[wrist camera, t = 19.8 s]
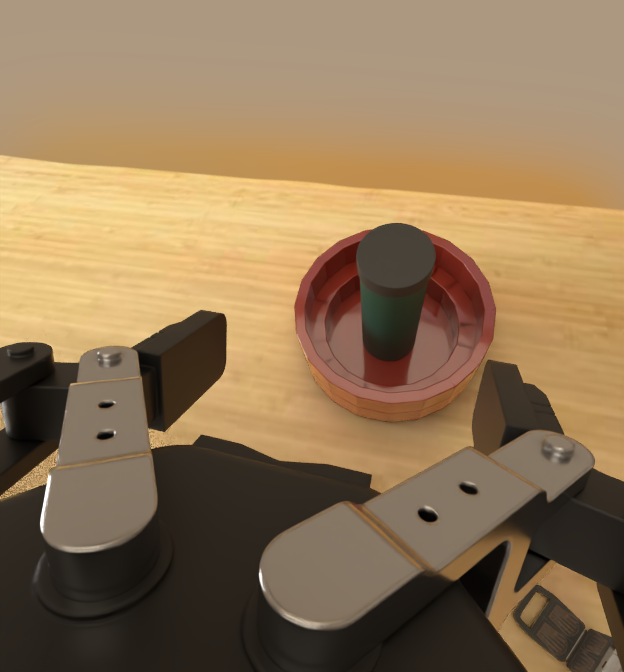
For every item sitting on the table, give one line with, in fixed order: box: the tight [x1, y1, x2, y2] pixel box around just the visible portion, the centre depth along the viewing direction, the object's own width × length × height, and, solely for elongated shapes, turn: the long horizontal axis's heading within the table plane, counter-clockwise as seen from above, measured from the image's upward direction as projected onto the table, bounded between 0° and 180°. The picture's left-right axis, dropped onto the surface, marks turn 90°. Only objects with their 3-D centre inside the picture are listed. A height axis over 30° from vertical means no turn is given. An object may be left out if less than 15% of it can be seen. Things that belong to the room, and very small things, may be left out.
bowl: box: [294, 230, 496, 422], centre depth 36 cm, size 15×15×6 cm
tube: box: [356, 223, 436, 361], centre depth 32 cm, size 5×5×12 cm
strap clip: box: [514, 585, 623, 672], centre depth 26 cm, size 8×3×4 cm, turn 47°
